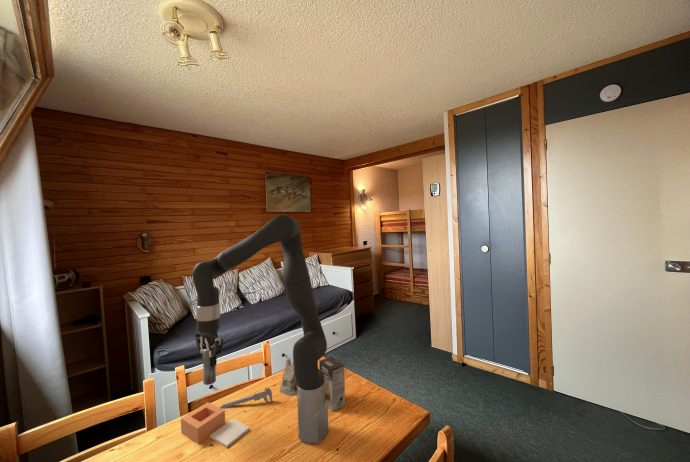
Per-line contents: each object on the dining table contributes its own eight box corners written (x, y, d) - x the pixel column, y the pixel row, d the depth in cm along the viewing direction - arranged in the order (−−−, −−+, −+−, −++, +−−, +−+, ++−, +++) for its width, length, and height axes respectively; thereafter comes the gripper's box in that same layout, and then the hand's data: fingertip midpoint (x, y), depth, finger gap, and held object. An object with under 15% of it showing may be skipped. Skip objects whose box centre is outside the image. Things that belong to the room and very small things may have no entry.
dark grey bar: (218, 380, 97) (217, 347, 97) (207, 386, 94) (207, 351, 93) (211, 377, 99) (211, 344, 99) (201, 382, 96) (200, 349, 96)
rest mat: (249, 429, 94) (249, 427, 94) (226, 447, 86) (226, 445, 86) (233, 420, 99) (232, 418, 99) (209, 437, 91) (209, 435, 91)
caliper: (272, 401, 110) (271, 385, 110) (272, 403, 109) (271, 387, 109) (219, 407, 107) (219, 391, 107) (218, 409, 106) (218, 393, 106)
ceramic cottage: (274, 388, 118) (276, 354, 118) (303, 374, 130) (305, 343, 130) (297, 405, 108) (298, 368, 108) (326, 388, 120) (328, 354, 120)
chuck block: (225, 424, 97) (224, 410, 97) (198, 443, 88) (197, 428, 88) (208, 415, 102) (208, 402, 102) (181, 432, 93) (180, 418, 93)
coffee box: (319, 400, 109) (318, 360, 109) (332, 394, 113) (331, 355, 113) (332, 411, 102) (331, 369, 102) (345, 404, 106) (344, 363, 106)
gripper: (230, 317, 96) (231, 365, 96) (207, 310, 103) (207, 355, 103) (210, 323, 89) (210, 375, 89) (186, 316, 97) (187, 363, 97)
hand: (209, 364), depth 96 cm, fingers closed on dark grey bar, 4 cm apart
